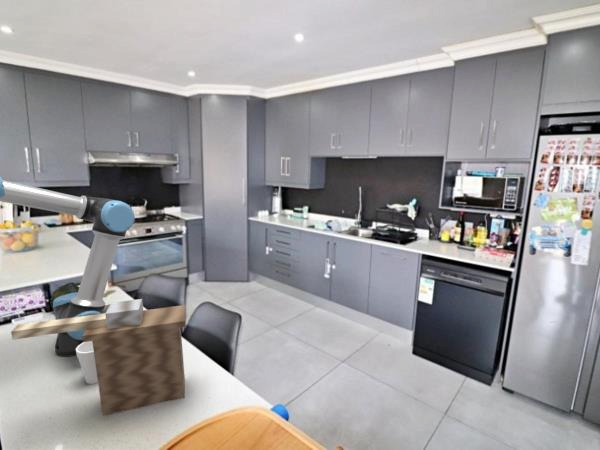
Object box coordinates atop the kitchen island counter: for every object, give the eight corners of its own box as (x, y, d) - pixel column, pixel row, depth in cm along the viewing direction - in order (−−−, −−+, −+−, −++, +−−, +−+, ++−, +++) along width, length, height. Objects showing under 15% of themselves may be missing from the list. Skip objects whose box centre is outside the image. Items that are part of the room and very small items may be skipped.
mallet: (8, 343, 90) (5, 326, 89) (22, 329, 97) (19, 313, 96) (140, 324, 100) (138, 309, 99) (143, 313, 108) (142, 298, 107)
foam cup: (78, 389, 112) (73, 356, 109) (82, 374, 120) (77, 342, 118) (110, 381, 116) (106, 348, 114) (111, 367, 124) (107, 336, 122)
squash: (38, 303, 166) (53, 283, 162) (64, 292, 180) (78, 274, 177) (58, 322, 166) (73, 303, 162) (82, 310, 180) (97, 292, 177)
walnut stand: (94, 419, 99) (82, 335, 94) (103, 393, 111) (93, 317, 105) (190, 398, 108) (185, 320, 103) (190, 375, 119) (185, 304, 114)
